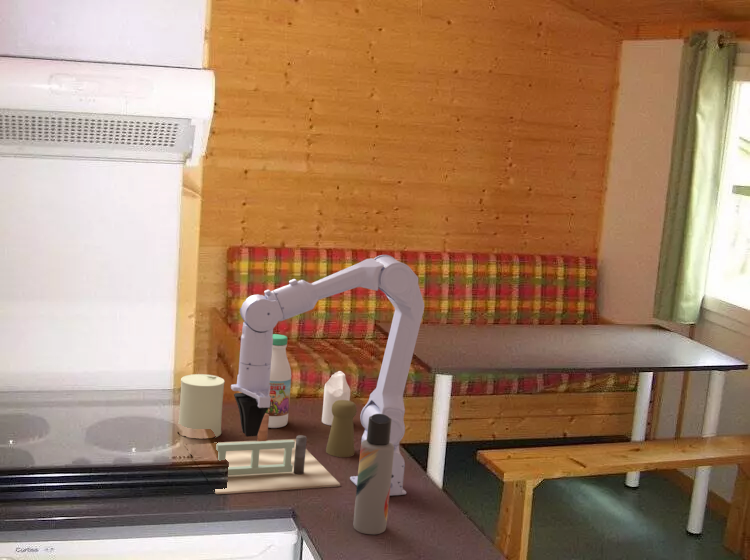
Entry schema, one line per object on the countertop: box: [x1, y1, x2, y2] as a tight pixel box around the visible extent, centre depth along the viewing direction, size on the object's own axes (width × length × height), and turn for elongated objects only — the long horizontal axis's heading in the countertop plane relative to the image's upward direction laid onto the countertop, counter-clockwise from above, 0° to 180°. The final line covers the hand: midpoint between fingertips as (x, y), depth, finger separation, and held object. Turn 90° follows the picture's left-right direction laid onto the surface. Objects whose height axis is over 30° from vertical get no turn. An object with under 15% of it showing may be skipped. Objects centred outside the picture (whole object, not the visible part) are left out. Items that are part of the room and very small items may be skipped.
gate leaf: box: [216, 439, 295, 476], centre depth 190 cm, size 15×1×6 cm, turn 113°
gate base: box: [214, 413, 341, 495], centre depth 196 cm, size 26×24×8 cm
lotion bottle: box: [353, 414, 394, 535], centre depth 170 cm, size 6×6×20 cm
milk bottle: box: [266, 333, 292, 429], centre depth 222 cm, size 8×8×20 cm
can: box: [178, 373, 226, 438], centre depth 212 cm, size 9×9×12 cm
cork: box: [325, 400, 358, 458], centre depth 208 cm, size 6×6×11 cm
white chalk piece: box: [321, 370, 351, 426], centre depth 228 cm, size 6×12×6 cm
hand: (249, 434), depth 183 cm, fingers closed
